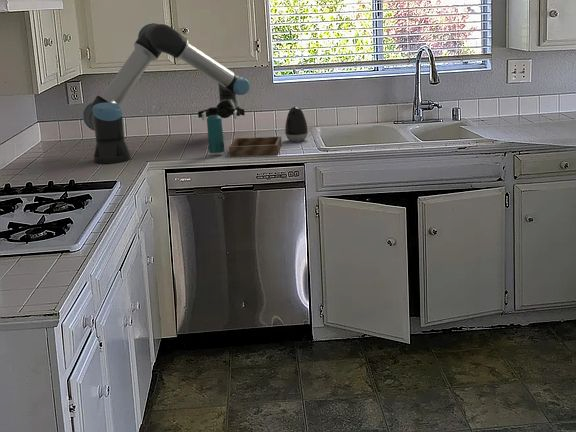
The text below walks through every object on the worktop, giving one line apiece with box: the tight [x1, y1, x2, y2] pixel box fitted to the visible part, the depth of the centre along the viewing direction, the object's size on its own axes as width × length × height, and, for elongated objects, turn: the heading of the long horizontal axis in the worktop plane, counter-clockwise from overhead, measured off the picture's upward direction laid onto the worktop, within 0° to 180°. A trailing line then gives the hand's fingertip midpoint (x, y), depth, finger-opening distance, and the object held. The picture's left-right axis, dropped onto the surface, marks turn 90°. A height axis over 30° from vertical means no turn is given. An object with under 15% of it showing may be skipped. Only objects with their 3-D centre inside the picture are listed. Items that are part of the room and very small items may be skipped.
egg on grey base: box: [284, 106, 309, 143], centre depth 381 cm, size 10×10×15 cm
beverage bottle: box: [206, 106, 225, 154], centre depth 358 cm, size 6×7×20 cm
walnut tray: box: [228, 136, 283, 158], centre depth 365 cm, size 20×20×4 cm
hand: (218, 116), depth 367 cm, fingers open, 13 cm apart
